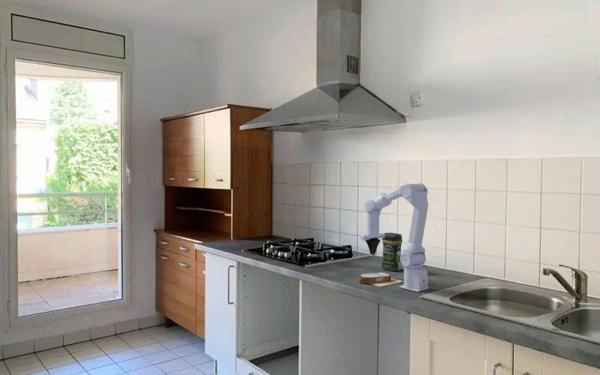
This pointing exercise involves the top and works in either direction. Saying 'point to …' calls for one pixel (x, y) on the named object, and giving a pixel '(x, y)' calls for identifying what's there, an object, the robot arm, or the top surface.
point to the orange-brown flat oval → (374, 277)
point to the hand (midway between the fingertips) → (372, 254)
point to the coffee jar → (392, 252)
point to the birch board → (386, 283)
